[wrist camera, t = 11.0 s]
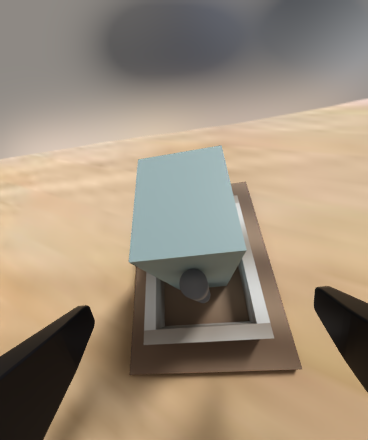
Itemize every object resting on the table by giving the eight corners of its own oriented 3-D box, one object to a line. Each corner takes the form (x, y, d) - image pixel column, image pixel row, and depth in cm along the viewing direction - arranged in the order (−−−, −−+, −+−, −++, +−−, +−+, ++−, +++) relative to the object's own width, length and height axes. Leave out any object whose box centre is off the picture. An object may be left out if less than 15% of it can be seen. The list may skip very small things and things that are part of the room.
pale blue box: (228, 301, 14) (256, 290, 5) (180, 305, 14) (125, 300, 5) (217, 231, 17) (221, 145, 8) (177, 236, 17) (138, 159, 8)
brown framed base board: (298, 366, 12) (323, 384, 9) (133, 372, 13) (111, 388, 10) (244, 185, 19) (250, 164, 17) (143, 200, 21) (132, 183, 18)
